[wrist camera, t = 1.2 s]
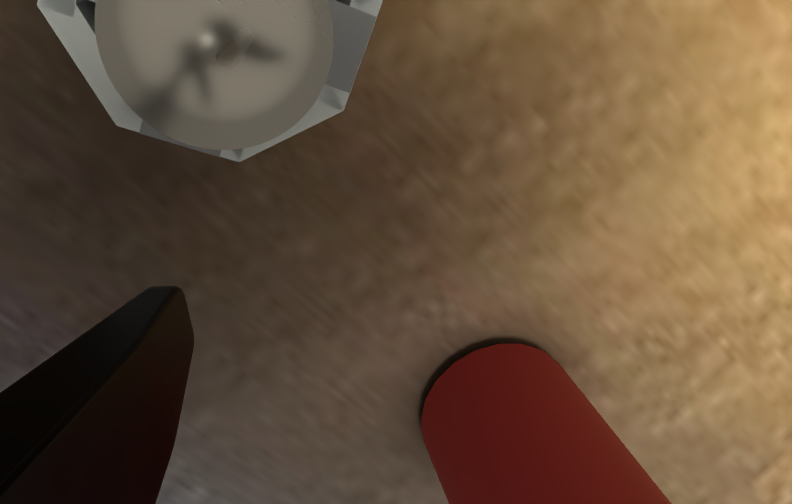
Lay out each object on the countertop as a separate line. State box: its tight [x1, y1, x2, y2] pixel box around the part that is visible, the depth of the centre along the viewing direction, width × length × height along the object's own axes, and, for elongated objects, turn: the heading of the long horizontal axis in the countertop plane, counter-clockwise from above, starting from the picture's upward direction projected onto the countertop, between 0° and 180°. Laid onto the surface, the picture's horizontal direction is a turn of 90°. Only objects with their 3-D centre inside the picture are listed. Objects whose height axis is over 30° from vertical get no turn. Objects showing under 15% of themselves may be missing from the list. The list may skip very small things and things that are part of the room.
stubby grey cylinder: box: [95, 0, 334, 150], centre depth 12 cm, size 5×5×8 cm
